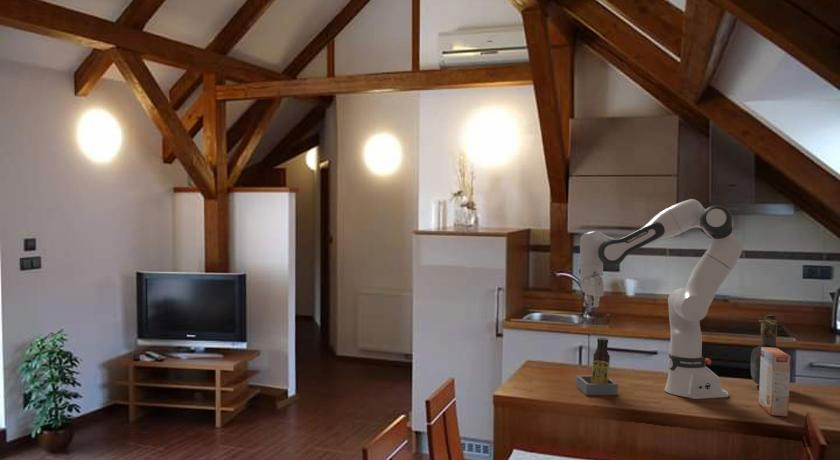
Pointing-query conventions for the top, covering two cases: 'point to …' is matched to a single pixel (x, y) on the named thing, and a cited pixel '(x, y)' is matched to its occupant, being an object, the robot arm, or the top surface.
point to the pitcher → (764, 344)
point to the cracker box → (774, 381)
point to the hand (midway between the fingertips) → (592, 305)
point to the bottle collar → (596, 386)
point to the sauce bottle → (600, 363)
